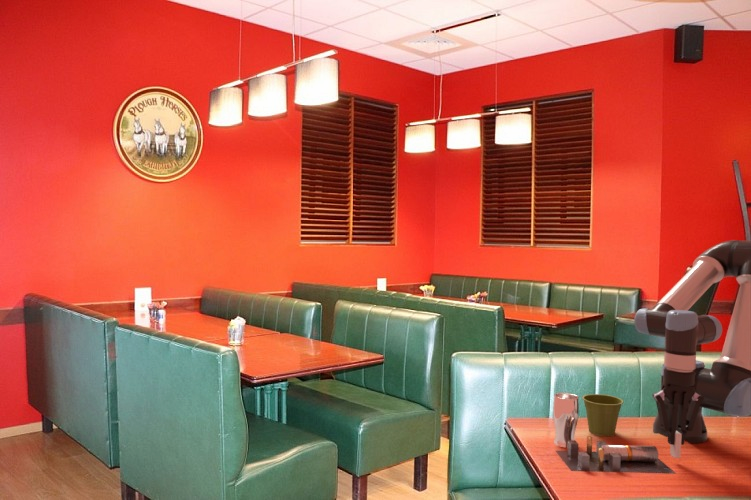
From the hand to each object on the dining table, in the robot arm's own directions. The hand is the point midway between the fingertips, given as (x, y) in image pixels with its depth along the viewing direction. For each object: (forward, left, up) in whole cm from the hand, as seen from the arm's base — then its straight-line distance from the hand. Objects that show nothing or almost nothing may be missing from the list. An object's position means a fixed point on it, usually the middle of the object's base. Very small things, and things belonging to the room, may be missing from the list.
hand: (675, 456), depth 165 cm
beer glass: (+26, -13, -3) cm, 29 cm away
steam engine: (+16, 0, -3) cm, 17 cm away
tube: (+12, 0, -2) cm, 12 cm away
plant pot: (+11, -24, -3) cm, 27 cm away
